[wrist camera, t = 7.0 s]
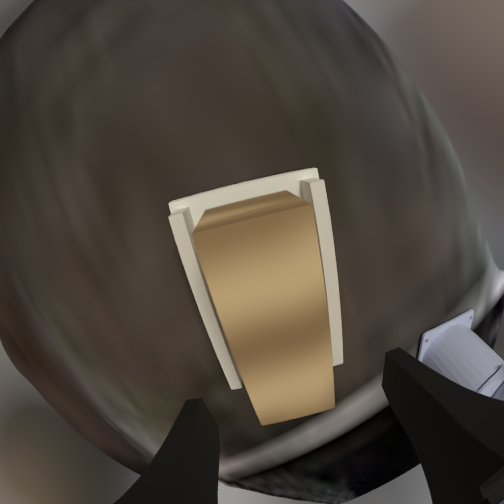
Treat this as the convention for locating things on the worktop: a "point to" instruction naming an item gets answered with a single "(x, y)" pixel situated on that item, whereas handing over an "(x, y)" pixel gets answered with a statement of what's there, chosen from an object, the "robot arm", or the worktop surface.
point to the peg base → (193, 207)
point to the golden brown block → (271, 301)
